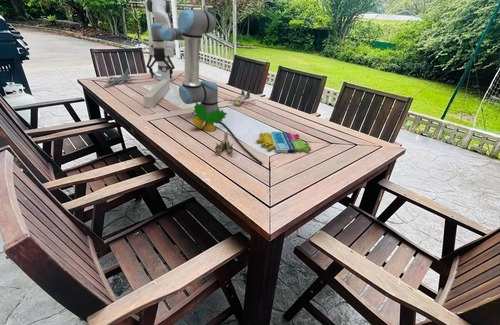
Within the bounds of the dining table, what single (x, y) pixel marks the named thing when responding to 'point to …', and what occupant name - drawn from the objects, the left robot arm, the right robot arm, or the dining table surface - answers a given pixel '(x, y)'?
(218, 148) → the jawbone
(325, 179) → the dining table surface
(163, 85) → the beam
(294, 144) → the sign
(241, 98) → the toy
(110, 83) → the airplane
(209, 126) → the ornament
